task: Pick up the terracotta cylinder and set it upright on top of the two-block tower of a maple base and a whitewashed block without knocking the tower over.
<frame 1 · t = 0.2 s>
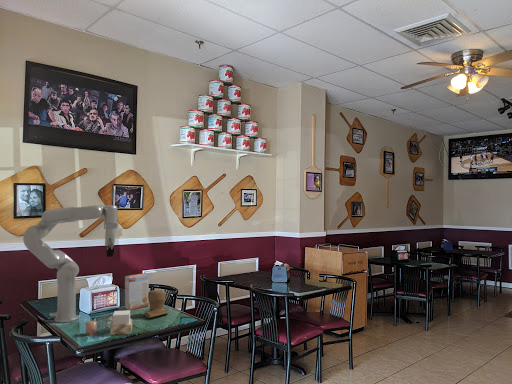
hand: (110, 255, 241), 36 cm above the table, tool pointing down, fingers open, 9 cm apart
terracotta cylinder: (91, 333, 212), on the table
whitewashed block: (121, 322, 216), point 5 cm above the table
maple base block: (121, 331, 216), on the table
tan piece: (155, 315, 245), on the table
cracker box: (136, 307, 262), on the table
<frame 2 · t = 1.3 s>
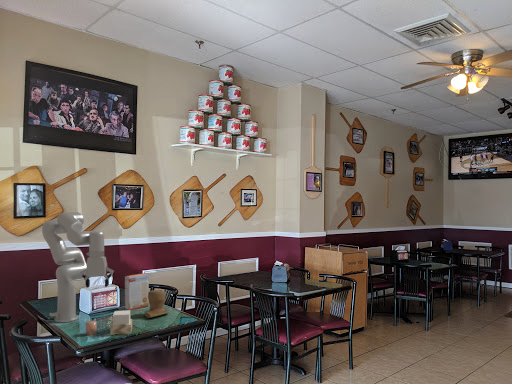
hand: (97, 286, 218), 23 cm above the table, tool pointing down, fingers open, 9 cm apart
nothing on the table moved.
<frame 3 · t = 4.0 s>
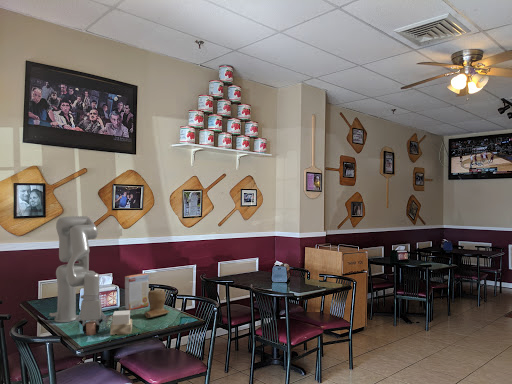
hand: (91, 332, 212), 1 cm above the table, tool pointing down, fingers closed on terracotta cylinder, 5 cm apart
terracotta cylinder: (91, 333, 212), on the table, touching gripper
everything else where it was.
when the fingers open (12 cm above the table, at t = 9.1 s): terracotta cylinder drops 2 cm, resting on whitewashed block.
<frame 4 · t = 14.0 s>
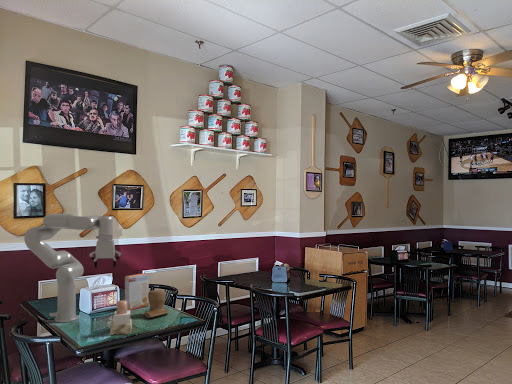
hand: (105, 267, 233), 30 cm above the table, tool pointing down, fingers open, 9 cm apart
terracotta cylinder: (122, 312, 216), point 10 cm above the table, touching whitewashed block
whitewashed block: (122, 322, 216), point 5 cm above the table, touching maple base block, terracotta cylinder
maple base block: (121, 331, 216), on the table, touching whitewashed block
everything else where it was.
at the end: terracotta cylinder 0.2 cm off-centre on the whitewashed block, point 5.0 cm above the whitewashed block's base; terracotta cylinder tilted 0°; whitewashed block 0.4 cm off-centre on the maple base block, point 5.0 cm above the maple base block's base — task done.
